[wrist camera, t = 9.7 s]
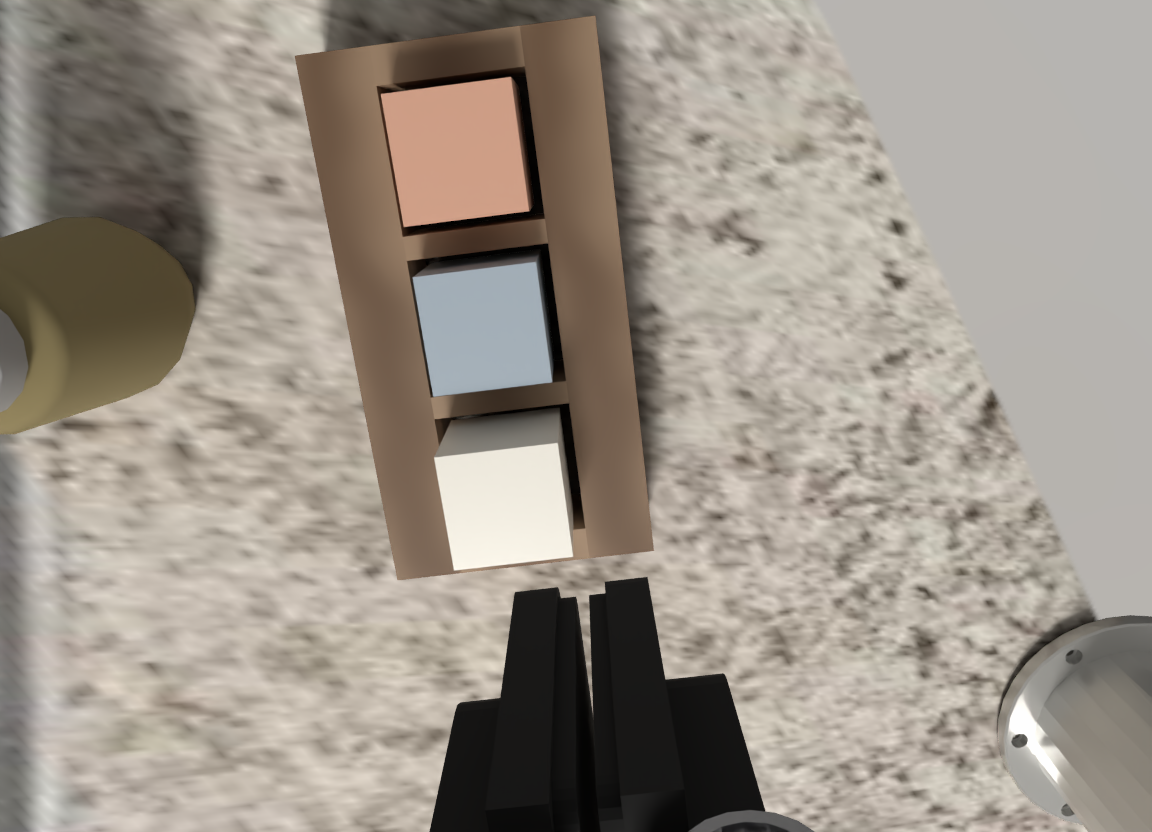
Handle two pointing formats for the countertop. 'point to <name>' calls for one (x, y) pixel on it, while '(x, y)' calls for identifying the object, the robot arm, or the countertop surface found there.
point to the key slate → (485, 322)
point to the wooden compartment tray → (396, 253)
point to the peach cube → (459, 151)
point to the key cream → (506, 489)
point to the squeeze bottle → (85, 318)
